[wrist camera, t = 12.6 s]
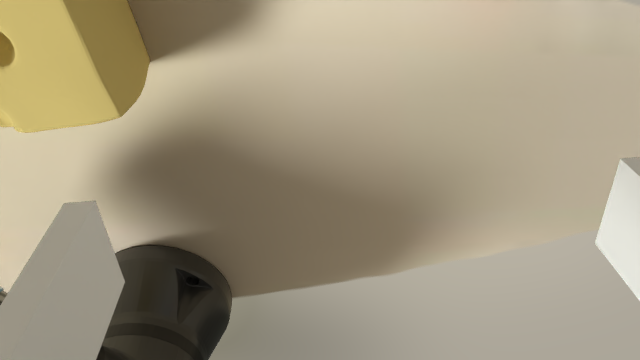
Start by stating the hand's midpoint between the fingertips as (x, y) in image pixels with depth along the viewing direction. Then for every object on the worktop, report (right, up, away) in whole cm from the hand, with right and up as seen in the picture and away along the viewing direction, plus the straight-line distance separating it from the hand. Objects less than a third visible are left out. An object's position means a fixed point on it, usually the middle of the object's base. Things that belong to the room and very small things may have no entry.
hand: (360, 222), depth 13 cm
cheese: (-20, +14, +27) cm, 36 cm away
